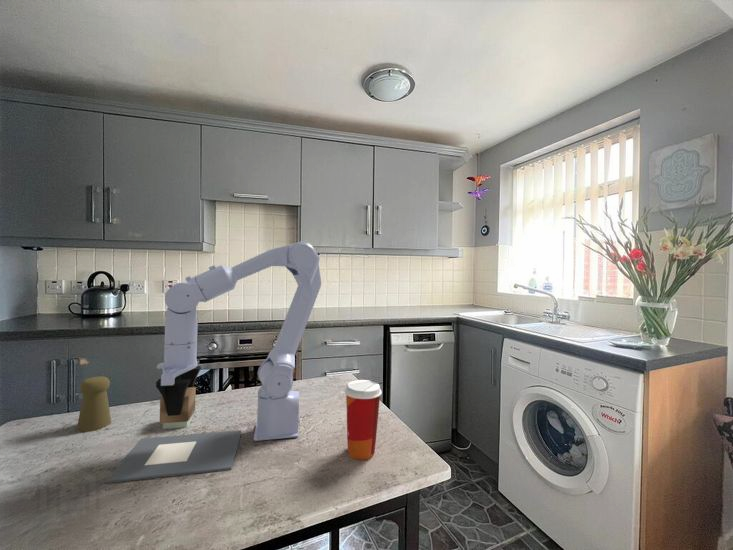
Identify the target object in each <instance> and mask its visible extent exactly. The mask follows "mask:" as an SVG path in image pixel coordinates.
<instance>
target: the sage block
mask: <svg viewBox="0 0 733 550" xmlns="http://www.w3.org/2000/svg"><path fill="white" fill-rule="evenodd" d="M193 418H194V414H193V415H192V416H191V418H190V419H189V421H187V422H174V423H162V430H167V429H181V428H187V427H189V425H190V423H191V422H190V421H192V420H193Z"/></svg>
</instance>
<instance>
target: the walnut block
mask: <svg viewBox="0 0 733 550" xmlns="http://www.w3.org/2000/svg"><path fill="white" fill-rule="evenodd" d="M196 389H197V388H196V386H193V387H187V389H186V392H185V396H184V401H183V407H182V411H181V414H180V415H174V416H168V414H167V411H166V407H165V403H164V399H163V397H162V396H161V397H160V399H159V424H163V423H174V422H187V421H189V419H190V418H191V416H192V415H193V416H194V413H195V411H196V398H197V397H196V395H197V394H196V393H197V392H196V391H197V390H196Z"/></svg>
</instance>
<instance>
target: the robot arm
mask: <svg viewBox="0 0 733 550" xmlns="http://www.w3.org/2000/svg"><path fill="white" fill-rule="evenodd" d="M320 259H321V258H320V256H319V254H318V252H317V251H316V249H315V248H314V246H313V245H312V244H311V243H309V242H307V241H297V242H295V243H290V244H287V245H284V246H280V247H276V248H272V249H268V250H266V251H264V252H262V253H260V254H258V255H255V256H253V257H250V258H249V259H247V260H244V261H242V262H239V263H238V264H236V265H235V266H234V265H233V266H232V267H229V266H226V265H222V264H220V265H218V266H216V265H215V264H213V265H210V266H209V267H208V270H206V271H204V272H202V273H200V274H197V275H195V276H190V275H189V276H187V277H185V282H176V284H174V285H172V286H170V287H169V288H168V289H167V291H166V292H165V295H164V302H165V305H166V307H167V308H166V311H165V315H166V316H165V317H166V318H165V321H164V345H163V346H164V347H163V348H164V349H163V350H164V352H163V362H160V363H158V364H157V365H156V369H157V370H162V374H161V375H160V378H159V379H158V380H157V381H155V387H156V389H157V390H158V391H159V393H160V395H161V397H163V399H164V403H165V407H166V411H167V414H168V416H174V415H180V414H181V411H182V407H183V401H184V396H185V392H186V389H187V387H195V383H196V380H197V378H198V375H199V373H200V371H201V370H202V366H200V365H198V359H197V355H198V350H197V349H198V327H199V326H198V322H199V320H198V317H197V306H198V305H199V303H202V302H203V303H208V302H209V301H211V300H213V299H215V298H217V297H219V296H222V295H224V294H226V293H228V292H230V291H233V290H234V289H235V287H236V284H237V282H238V281H239V280H243V279H244V278H247V277H249V276H252V275H253V274H256V273H259V272H261V271H263V270H266V269H268V268H271V267H285V268H286V269H287V270H288V271H289V272H290V273H291V275H292V276H293V278H294V279H295V282H296V285H297V288H296V290H295V293H294V295H293V298H292V301H291V302H290V306H289V308H288V311H287V313H286V316H285V317H284V320H283V323H282V326H281V328H280V332H279V334H278V336H277V339H276V342H275V344H274V346H273V348H272V349H271V350H270V352H269V353H268V356H267V357H266V359H265V360H264V361H263V362H262V363H261V364H260V365H259V367H258V368H257V369H258V370H257V379H259V381H260V383H261V385H260V387H259V389H258V391H257V412H256V413H257V414H256V415H257V416H256V417H257V418H256V424H255V427H254V428H255V429H254V433H253V438H252V439H253V440H252V441H254V442H257V441H268V440H270V441H271V440H279V439H280V440H282V439H289V438H290V439H291V438H298V437H299V424H300V421H301V419H300V413H299V412H300V391H298V390H297V391H296V390H291V389H292V387H293V384H294V377H293V376H294V371H295V367H296V361H295V360H296V358H295V356H296V354H297V351H298V348H299V345H300V342H301V340H302V337H303V334H304V333H305V329H306V327H307V325H308V321H309V320H310V316H311V313H312V310H313V308H314V305H315V303H316V300H317V297H318V295H319V292H320V290H321V286H322V278H321V272H320V271H321V270H320Z"/></svg>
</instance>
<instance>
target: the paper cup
mask: <svg viewBox="0 0 733 550" xmlns="http://www.w3.org/2000/svg"><path fill="white" fill-rule="evenodd" d="M344 393H345V396H346V403H345V404H346V433H347V434H346V437H347V454H348V456H349V455H350V456H349V457H351V458H352V459H354V458H355V460H357V461H359V460H360V461H363V459H366V460H369V459H371V458H372V457H374V455H375V450H376V443H377V433H378V432H377V431H378V422H379V411H380V410H379V409H380V400H381V399H380V398H381V395H382V394H383V393H382V389H381V386H380V384H379V383H376V382H374V381H372V380H368V379H356V380H353V381H349V382H348V383H347V385H346V388H345V389H344ZM370 457H371V458H370ZM368 458H369V459H368Z"/></svg>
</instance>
